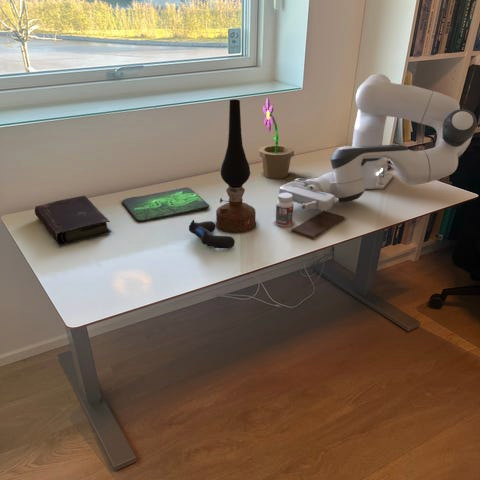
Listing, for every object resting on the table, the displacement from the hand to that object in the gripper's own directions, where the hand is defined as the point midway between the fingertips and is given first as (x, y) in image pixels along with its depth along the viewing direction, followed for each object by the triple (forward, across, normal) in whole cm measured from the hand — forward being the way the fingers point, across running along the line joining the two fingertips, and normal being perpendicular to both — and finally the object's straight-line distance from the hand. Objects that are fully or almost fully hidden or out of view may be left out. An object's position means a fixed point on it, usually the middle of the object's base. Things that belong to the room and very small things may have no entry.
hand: (292, 203), depth 170 cm
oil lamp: (+16, +12, -6) cm, 21 cm away
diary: (+52, +52, -6) cm, 74 cm away
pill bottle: (+4, 0, -6) cm, 7 cm away
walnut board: (-2, -10, -6) cm, 11 cm away
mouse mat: (+20, +43, -6) cm, 47 cm away
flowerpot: (-33, +33, -6) cm, 47 cm away
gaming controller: (+30, +9, -6) cm, 32 cm away
